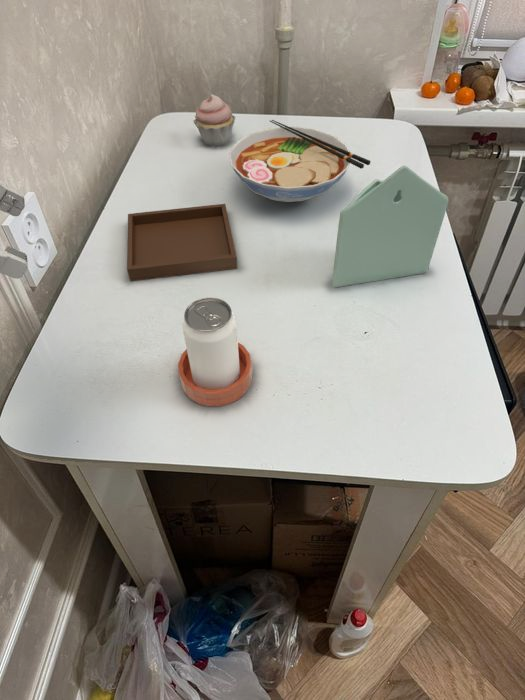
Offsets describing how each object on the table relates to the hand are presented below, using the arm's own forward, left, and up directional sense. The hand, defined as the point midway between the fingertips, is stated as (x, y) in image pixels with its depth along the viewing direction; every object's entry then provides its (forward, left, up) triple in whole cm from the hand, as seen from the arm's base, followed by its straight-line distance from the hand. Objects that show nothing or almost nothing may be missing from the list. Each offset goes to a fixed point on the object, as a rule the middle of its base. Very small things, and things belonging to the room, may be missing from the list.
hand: (23, 235), depth 45 cm
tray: (+12, +32, -27) cm, 44 cm away
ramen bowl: (+34, +46, -27) cm, 64 cm away
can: (+15, +2, -27) cm, 31 cm away
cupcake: (+22, +69, -27) cm, 78 cm away
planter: (+43, +21, -27) cm, 56 cm away
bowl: (+15, +2, -27) cm, 31 cm away
